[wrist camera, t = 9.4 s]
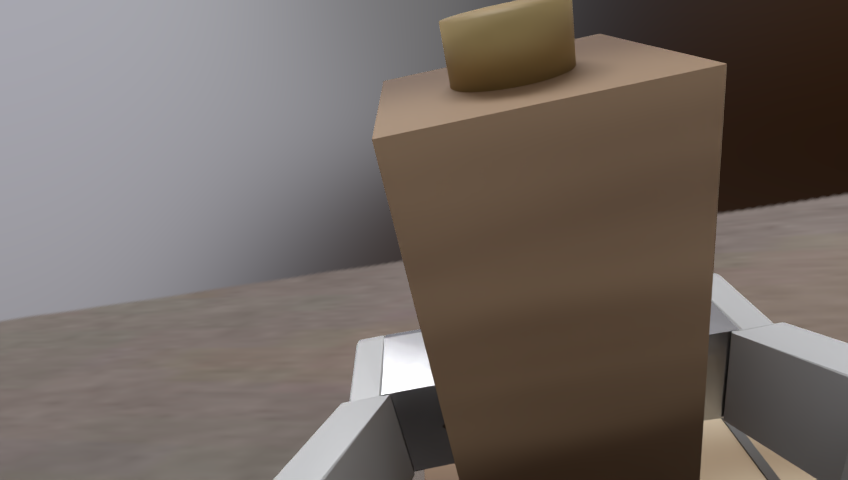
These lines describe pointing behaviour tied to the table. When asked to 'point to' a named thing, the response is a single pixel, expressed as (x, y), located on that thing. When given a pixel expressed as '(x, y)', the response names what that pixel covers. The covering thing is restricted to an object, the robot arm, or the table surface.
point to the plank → (741, 457)
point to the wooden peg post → (558, 243)
